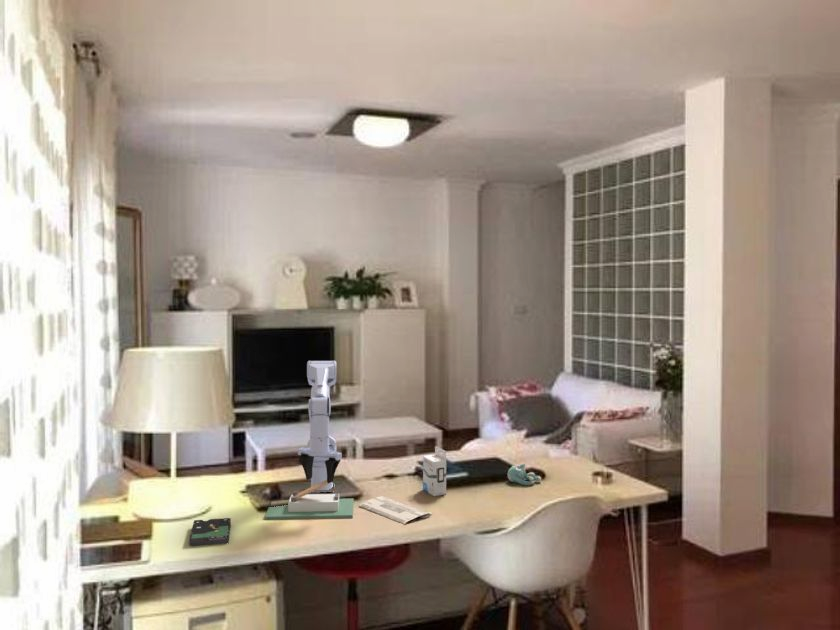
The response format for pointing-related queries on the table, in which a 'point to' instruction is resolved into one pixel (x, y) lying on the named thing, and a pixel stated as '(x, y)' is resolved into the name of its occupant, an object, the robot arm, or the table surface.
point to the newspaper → (393, 509)
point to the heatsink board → (310, 515)
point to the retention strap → (311, 489)
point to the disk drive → (210, 532)
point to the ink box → (435, 473)
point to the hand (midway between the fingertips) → (319, 480)
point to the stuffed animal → (521, 475)
